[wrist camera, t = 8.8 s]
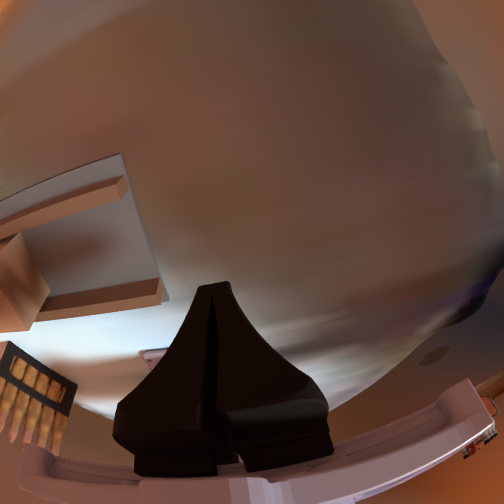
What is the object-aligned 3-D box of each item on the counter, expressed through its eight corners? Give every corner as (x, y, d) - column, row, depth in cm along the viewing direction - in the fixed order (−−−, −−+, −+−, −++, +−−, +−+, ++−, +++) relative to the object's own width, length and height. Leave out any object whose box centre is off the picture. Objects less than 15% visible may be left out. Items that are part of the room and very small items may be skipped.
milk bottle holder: (474, 394, 63) (497, 436, 46) (490, 395, 76) (508, 426, 60) (428, 430, 71) (447, 471, 54) (455, 424, 84) (470, 455, 68)
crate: (50, 290, 20) (28, 330, 16) (11, 297, 20) (-11, 333, 16) (20, 230, 17) (-12, 265, 13) (-18, 245, 17) (-46, 277, 12)
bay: (169, 297, 22) (166, 318, 20) (20, 319, 22) (11, 335, 20) (120, 153, 16) (109, 162, 14) (-34, 219, 15) (-48, 232, 13)
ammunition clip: (7, 346, 24) (-24, 423, 14) (9, 340, 23) (-24, 420, 13) (73, 389, 29) (57, 467, 19) (78, 385, 28) (61, 467, 18)
